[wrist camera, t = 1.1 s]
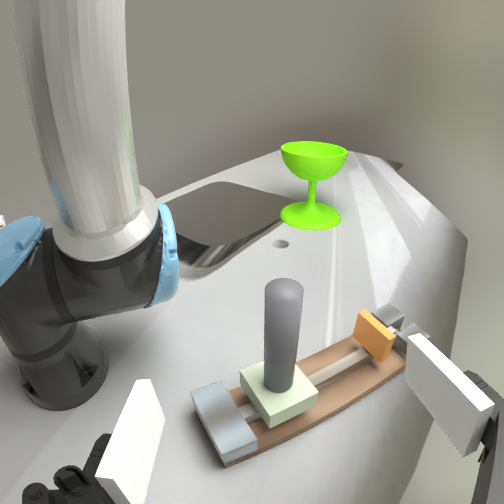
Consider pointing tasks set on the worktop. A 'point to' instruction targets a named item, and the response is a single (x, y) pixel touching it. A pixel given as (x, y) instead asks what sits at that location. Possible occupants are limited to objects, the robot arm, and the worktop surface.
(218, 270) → the worktop surface
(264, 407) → the carriage
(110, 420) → the worktop surface
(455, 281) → the worktop surface
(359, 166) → the worktop surface
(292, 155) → the wineglass
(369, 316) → the orange block
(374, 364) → the rail base
